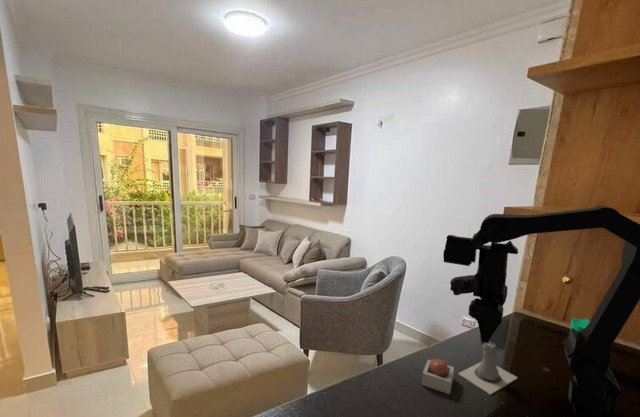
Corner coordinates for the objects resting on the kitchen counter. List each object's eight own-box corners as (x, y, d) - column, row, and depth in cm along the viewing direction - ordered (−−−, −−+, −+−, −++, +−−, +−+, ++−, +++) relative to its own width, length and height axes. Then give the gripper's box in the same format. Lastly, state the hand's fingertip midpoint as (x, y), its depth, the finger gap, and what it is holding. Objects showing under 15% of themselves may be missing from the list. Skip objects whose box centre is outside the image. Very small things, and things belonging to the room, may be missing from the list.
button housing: (453, 378, 73) (454, 367, 73) (449, 394, 68) (450, 382, 68) (427, 370, 76) (427, 359, 76) (422, 385, 71) (422, 372, 71)
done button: (447, 371, 72) (448, 361, 72) (445, 380, 69) (445, 370, 69) (431, 366, 74) (432, 357, 74) (428, 374, 71) (429, 365, 71)
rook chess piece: (501, 375, 74) (503, 344, 73) (494, 384, 71) (497, 351, 70) (481, 366, 77) (483, 336, 76) (474, 374, 74) (476, 343, 73)
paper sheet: (485, 360, 80) (485, 359, 80) (517, 378, 73) (517, 377, 73) (458, 374, 75) (458, 372, 75) (490, 395, 68) (490, 393, 68)
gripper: (461, 254, 83) (457, 309, 85) (445, 273, 67) (441, 340, 69) (509, 261, 76) (504, 321, 78) (504, 284, 61) (498, 357, 63)
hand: (486, 333), depth 72 cm, fingers open, 9 cm apart
